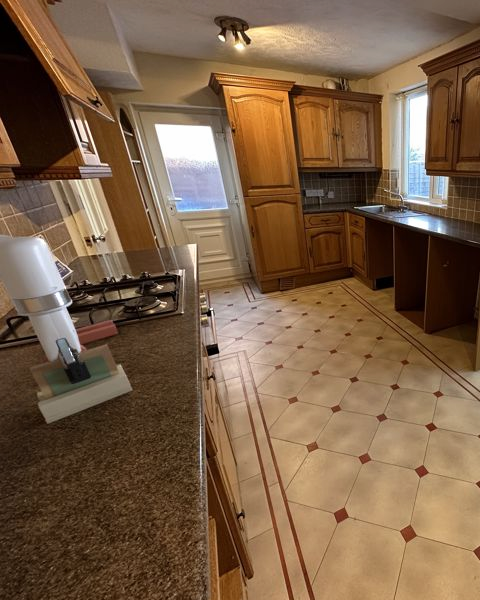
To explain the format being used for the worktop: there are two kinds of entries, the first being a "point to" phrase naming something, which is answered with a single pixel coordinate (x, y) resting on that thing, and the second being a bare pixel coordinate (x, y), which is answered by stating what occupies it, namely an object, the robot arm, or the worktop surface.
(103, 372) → the frame
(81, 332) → the stand
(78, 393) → the holder
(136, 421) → the worktop surface
